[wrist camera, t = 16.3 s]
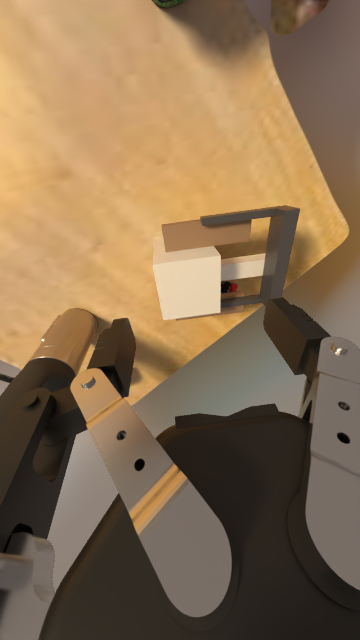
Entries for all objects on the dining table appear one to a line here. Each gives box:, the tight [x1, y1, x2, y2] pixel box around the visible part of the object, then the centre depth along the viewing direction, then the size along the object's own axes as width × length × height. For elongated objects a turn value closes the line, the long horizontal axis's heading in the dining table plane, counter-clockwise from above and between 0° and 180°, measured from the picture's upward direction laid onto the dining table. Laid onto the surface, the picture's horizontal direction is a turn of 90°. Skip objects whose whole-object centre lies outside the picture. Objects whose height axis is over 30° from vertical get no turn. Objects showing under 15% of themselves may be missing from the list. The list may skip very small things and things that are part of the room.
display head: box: [152, 219, 266, 321], centre depth 39 cm, size 22×18×17 cm
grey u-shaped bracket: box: [200, 205, 300, 308], centre depth 33 cm, size 13×16×4 cm
